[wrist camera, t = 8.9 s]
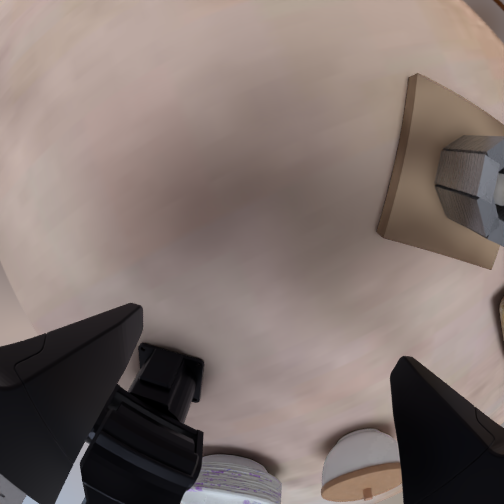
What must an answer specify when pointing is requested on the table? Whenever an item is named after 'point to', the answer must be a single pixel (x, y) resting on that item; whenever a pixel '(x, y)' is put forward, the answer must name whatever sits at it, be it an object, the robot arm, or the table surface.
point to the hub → (472, 184)
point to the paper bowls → (233, 482)
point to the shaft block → (434, 174)
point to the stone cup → (502, 315)
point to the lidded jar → (361, 466)
